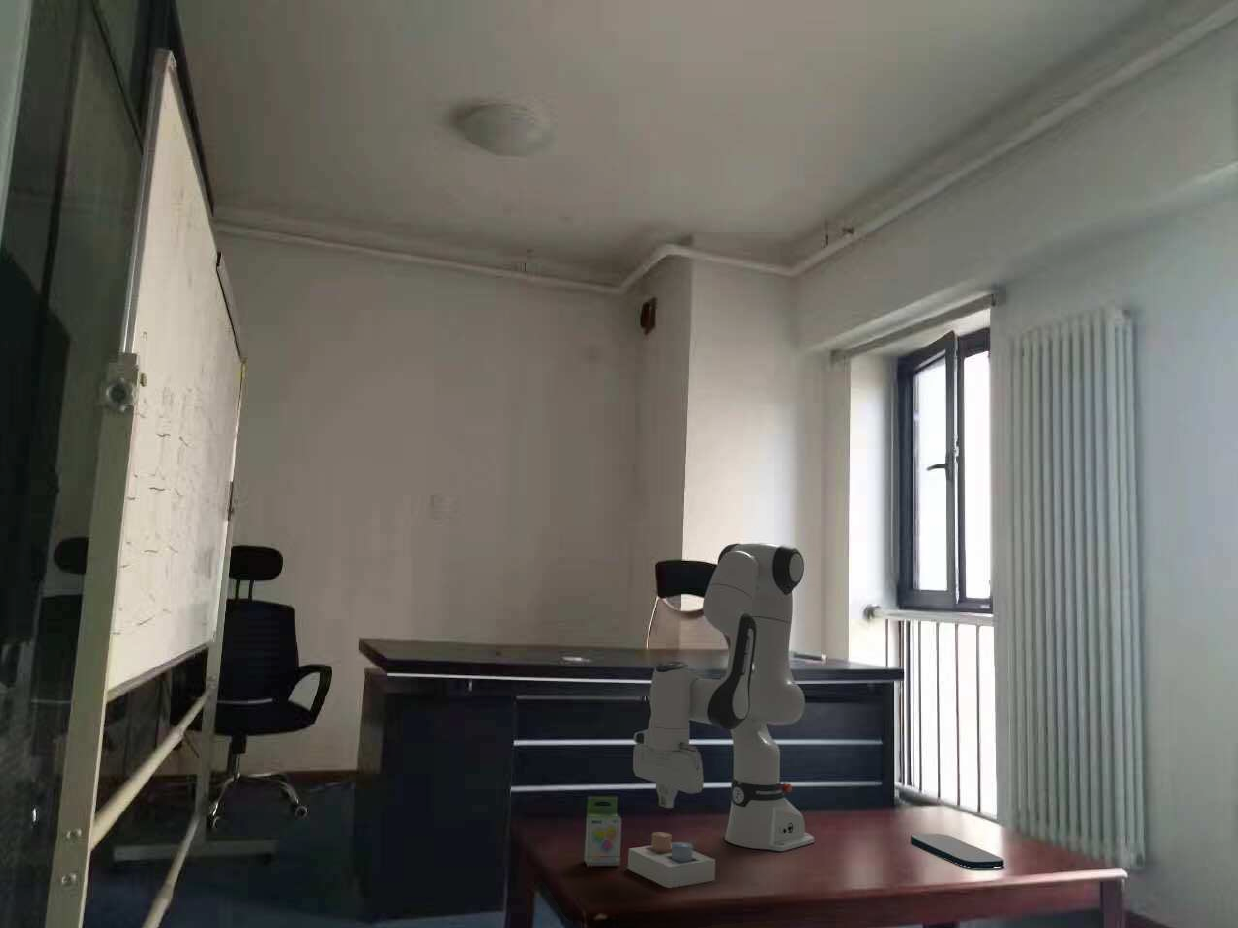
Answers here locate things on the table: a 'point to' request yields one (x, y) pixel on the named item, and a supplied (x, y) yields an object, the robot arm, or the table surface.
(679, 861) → the grey piece
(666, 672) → the robot arm
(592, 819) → the ink box
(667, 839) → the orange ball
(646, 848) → the white flat block
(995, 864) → the external hard drive
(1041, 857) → the table surface
